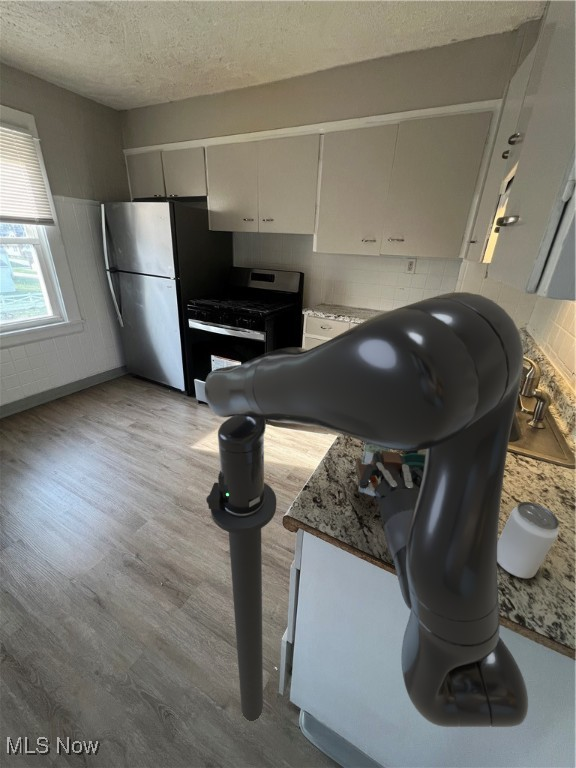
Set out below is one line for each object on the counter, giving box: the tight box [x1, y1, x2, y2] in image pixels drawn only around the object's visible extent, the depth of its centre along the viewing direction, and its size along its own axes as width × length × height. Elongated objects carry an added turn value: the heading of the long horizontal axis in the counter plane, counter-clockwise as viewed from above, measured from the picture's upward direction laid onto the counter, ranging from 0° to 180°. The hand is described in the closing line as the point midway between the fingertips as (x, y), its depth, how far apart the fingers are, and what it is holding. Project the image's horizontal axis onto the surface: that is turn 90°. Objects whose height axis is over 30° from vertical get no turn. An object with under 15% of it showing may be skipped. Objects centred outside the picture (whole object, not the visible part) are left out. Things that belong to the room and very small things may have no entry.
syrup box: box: [361, 442, 391, 464], centre depth 77 cm, size 6×6×14 cm
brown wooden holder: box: [355, 451, 402, 507], centre depth 64 cm, size 12×8×11 cm
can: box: [497, 501, 560, 579], centre depth 54 cm, size 6×6×12 cm
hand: (386, 455), depth 61 cm, fingers closed on brown wooden holder, 3 cm apart
